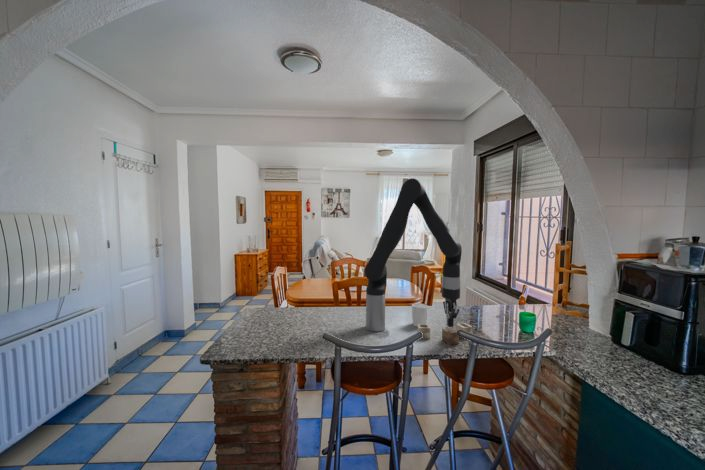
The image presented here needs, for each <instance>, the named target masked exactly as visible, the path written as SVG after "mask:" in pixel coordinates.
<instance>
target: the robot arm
mask: <svg viewBox="0 0 705 470" xmlns="http://www.w3.org/2000/svg"><path fill="white" fill-rule="evenodd" d="M395 202H396V203H395V205H394V208H393V209H392V211H391V213H390V215H389V217H388V220H387V221H386V224H385V226H384V228H383V230H382V232H381V235H380V237H379V240H378V242H377V244H376V247H375V249H374V252H373V254H372V255H371V257H370V258H369V260H368V262H367V263H366V265H365V267H364V275H365V277H366V279H367V280H368V282H367V286H366V294H365V295H366V297H365V299H366V300H365V302H366V304H365V329H366V331H370V332H375V333H377V332H378V333H379V332H382V331H384V330H385V329H386V288H387V280H388V279H387V278H388V277H387V276H388V272H387V271H388V269H387V265H386V264H387V262H388V260H389V258H390V256H391V254H392V253H393V252H394V251H395V249H396V248H397V246H398V245H399V243H400V241H401V240H402V237H403V235H404V233H405V230H406V229H407V225H408V219H409V214H410V212H411V209H412V207H413V205H415V206H416V208H417V209H418V210H419V212H420V214H421V216H422V218H423V221H424V223H425V224H426V226H427V228H428V230H429V231H430V232H431V235H432V236H433V237H434V238H435V240H436V244H437V245H438V248H439V250H440V251H441V253H442V254H443V255H444V256H445V257H444V263H443V265H442V279H441V297H442V298H444V300H445V301H442V303H443V304H442V305H443V309H444V314H445V315H446V319H447V320H446V326H447V327H449V328H453V327H454V322H455V320H454V319H457V317H458V314H459V312H460V308H457V307H458V303H457V300H460V298H461V261H462V250H463V249H462V245H461V244H460V242H459V241H457V240H455V239H454V238H453V236H452V235H451V232H450V229H449V227H448V225H447V224H446V222H445V221H444V220H443V217H441V215H440V214H439V213H438V211H437V210H436V208H435V207H434V205H433V203H432V202H431V200H430V197H429V196H428V193H427V190H426V189H425V186H424V184H423V182H421V181H419V180H418V179H416V178H409V179H406V181H404V182H403V184H402V186H401V189H400V191H399V194H398V197H397V200H396V201H395Z"/></svg>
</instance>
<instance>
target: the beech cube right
mask: <svg viewBox="0 0 705 470" xmlns="http://www.w3.org/2000/svg"><path fill="white" fill-rule="evenodd" d="M455 327H456V328H455V330H456V331H457V330H464V331H467V332H469V333H472V334H473V331H474V330H473V328H474V327H473V326H472V325H470V324H469V323H466V322H462V323H455Z"/></svg>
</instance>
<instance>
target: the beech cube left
mask: <svg viewBox="0 0 705 470" xmlns="http://www.w3.org/2000/svg"><path fill="white" fill-rule="evenodd" d="M416 328H417V332H419V331H420V332H422V333H423V338H421V339H424V340H426V339H428V340H430V339H431V327H430V324H427V323H426V324H418V326H416Z"/></svg>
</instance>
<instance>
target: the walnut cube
mask: <svg viewBox="0 0 705 470" xmlns="http://www.w3.org/2000/svg"><path fill="white" fill-rule="evenodd" d="M441 330H442V331H441V340H442V341H443V342H444V343H445V344H447V345H458V344H460V336H458V335H457V331H456V328H453V327H449V328H442V329H441Z"/></svg>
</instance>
